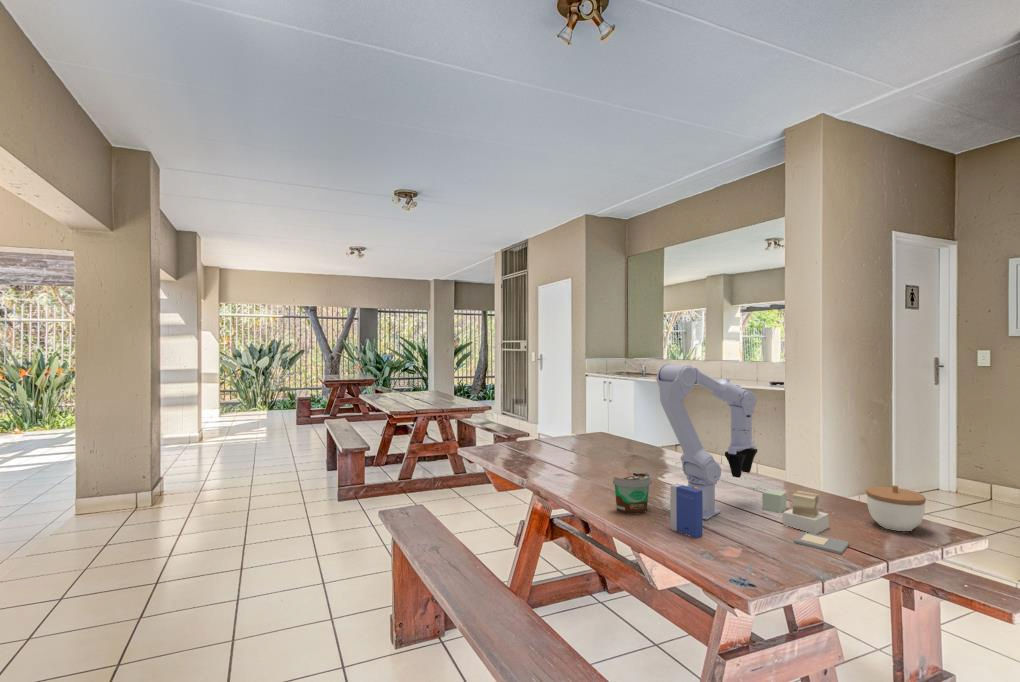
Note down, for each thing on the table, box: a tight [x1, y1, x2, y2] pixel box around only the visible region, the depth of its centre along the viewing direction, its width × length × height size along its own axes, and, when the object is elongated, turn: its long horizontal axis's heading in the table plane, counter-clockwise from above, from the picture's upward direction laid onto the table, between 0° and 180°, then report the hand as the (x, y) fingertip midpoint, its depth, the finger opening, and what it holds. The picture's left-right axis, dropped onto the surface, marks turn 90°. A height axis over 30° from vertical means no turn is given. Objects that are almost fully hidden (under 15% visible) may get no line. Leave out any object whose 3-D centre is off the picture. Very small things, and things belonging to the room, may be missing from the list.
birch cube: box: [792, 490, 820, 518], centre depth 139 cm, size 5×5×5 cm
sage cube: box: [761, 488, 787, 513], centre depth 153 cm, size 5×5×5 cm
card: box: [793, 531, 850, 555], centre depth 127 cm, size 8×10×1 cm
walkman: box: [669, 483, 703, 539], centre depth 135 cm, size 8×3×12 cm, turn 35°
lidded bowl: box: [865, 484, 926, 532], centre depth 138 cm, size 13×13×11 cm
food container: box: [612, 472, 653, 515], centre depth 152 cm, size 12×6×10 cm, turn 114°
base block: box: [782, 507, 830, 535], centre depth 139 cm, size 8×8×4 cm
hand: (741, 474), depth 156 cm, fingers open, 7 cm apart
